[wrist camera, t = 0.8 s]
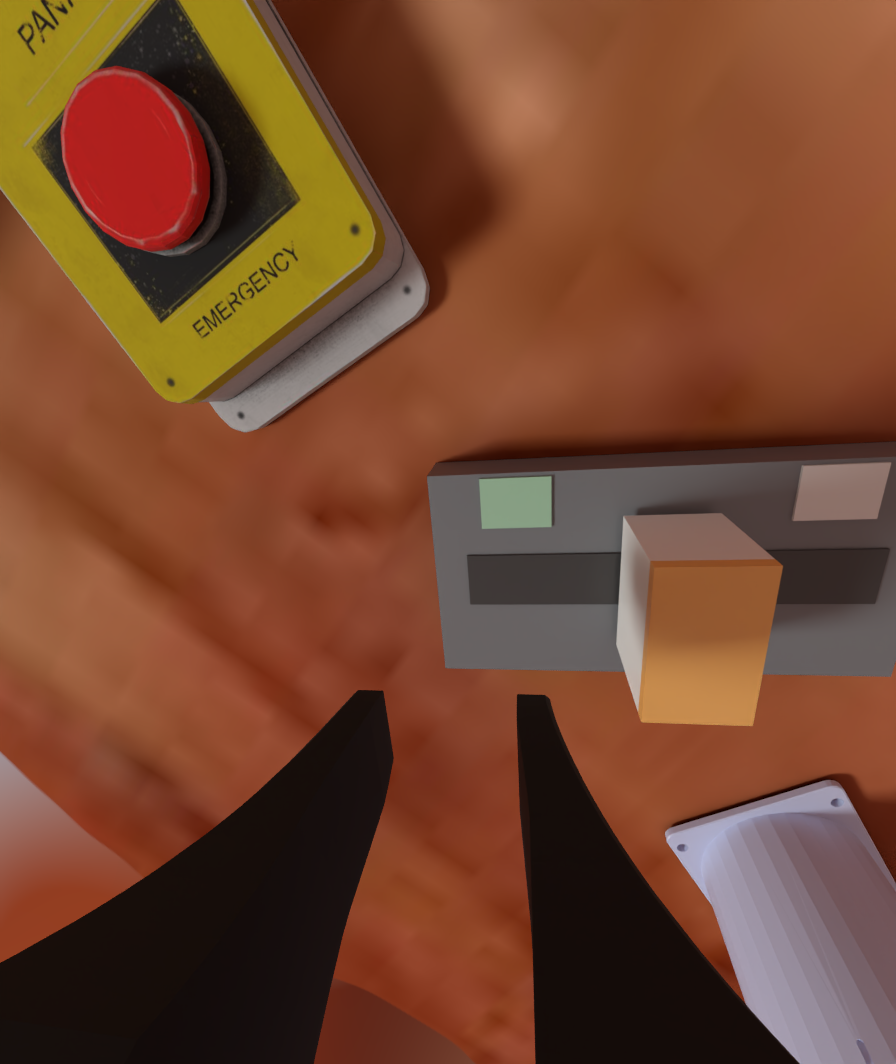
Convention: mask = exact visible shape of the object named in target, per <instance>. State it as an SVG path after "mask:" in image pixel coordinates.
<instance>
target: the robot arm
mask: <svg viewBox="0 0 896 1064" xmlns="http://www.w3.org/2000/svg"><path fill="white" fill-rule="evenodd" d="M517 738H518V768H519V797H520V817H521V827H522V838H523V848H524V858H525V869H526V879H527V889H528V900H529V910H530V920H531V932H532V948H533V978H534V1018H535V1059H536V1064H896V883H895V881H894V879H893V877H892V875H891V874H890V872H889V870H888V868H887V866H886V865H885V863H884V861H883V859H882V857H881V855H880V854H879V852H878V850H877V848H876V846H875V845H874V843H873V841H872V839H871V837H870V836H869V834H868V832H867V830H866V828H865V826H864V825H863V823H862V821H861V819H860V817H859V816H858V814H857V812H856V810H855V808H854V807H853V805H852V803H851V801H850V799H849V797H848V796H847V794H846V792H845V790H844V789H843V788H842V786H841V785H840V784H839V783H838V782H837V781H834V780H824V781H821V782H817V783H814V784H811V785H808V786H804V787H801V788H798V789H795V790H791V791H788V792H785V793H782V794H778V795H775V796H772V797H769V798H765V799H762V800H759V801H756V802H752V803H749V804H746V805H743V806H739V807H736V808H733V809H730V810H726V811H723V812H720V813H717V814H713V815H710V816H707V817H704V818H700V819H697V820H694V821H691V822H687V823H684V824H681V825H678V826H674V827H671V828H669V829H668V830H667V831H666V832H665V836H666V840H667V843H668V844H669V846H670V847H671V849H672V850H673V851H674V853H675V854H676V856H677V857H678V858H679V860H680V861H681V863H682V864H683V865H684V867H685V868H686V870H687V871H688V873H689V874H690V875H691V877H692V878H693V880H694V881H695V882H696V884H697V885H698V887H699V888H700V889H701V891H702V892H703V894H704V895H705V896H706V898H707V899H708V901H709V902H710V904H711V905H712V906H713V909H714V912H715V915H716V918H717V921H718V923H719V926H720V929H721V932H722V935H723V938H724V941H725V944H726V947H727V950H728V953H729V956H730V958H731V961H732V964H733V967H734V970H735V973H736V976H737V979H738V982H739V985H740V988H741V991H742V993H743V996H744V999H745V1002H746V1004H745V1003H744V1002H743V1001H742V1000H741V998H740V997H739V996H738V995H737V994H736V993H735V992H734V991H733V989H732V988H731V987H730V986H729V985H728V983H727V982H726V981H725V980H724V979H723V978H722V976H721V975H720V974H719V973H718V972H717V970H716V969H715V968H714V967H713V966H712V965H711V963H710V962H709V961H708V960H707V959H706V957H705V956H704V955H703V954H702V953H701V952H700V950H699V949H698V948H697V946H696V945H695V944H694V943H693V941H692V940H691V939H690V938H689V936H688V935H687V934H686V932H685V931H684V930H683V929H682V927H681V926H680V925H679V923H678V922H677V921H676V920H675V918H674V917H673V916H672V914H671V913H670V912H669V911H668V909H667V908H666V907H665V905H664V904H663V903H662V902H661V900H660V899H659V898H658V897H657V895H656V894H655V892H654V891H653V890H652V888H651V887H650V886H649V884H648V883H647V881H646V880H645V878H644V877H643V876H642V874H641V873H640V871H639V870H638V869H637V867H636V866H635V864H634V863H633V861H632V860H631V858H630V857H629V855H628V854H627V852H626V851H625V849H624V848H623V846H622V845H621V843H620V842H619V840H618V839H617V837H616V836H615V834H614V833H613V831H612V829H611V828H610V826H609V825H608V823H607V821H606V820H605V818H604V816H603V815H602V813H601V811H600V809H599V808H598V806H597V804H596V803H595V801H594V799H593V797H592V796H591V794H590V792H589V790H588V788H587V786H586V785H585V783H584V781H583V779H582V777H581V775H580V773H579V771H578V769H577V767H576V765H575V763H574V761H573V759H572V757H571V755H570V753H569V751H568V748H567V746H566V744H565V742H564V739H563V737H562V735H561V732H560V730H559V727H558V725H557V722H556V719H555V716H554V713H553V710H552V706H551V702H550V699H549V698H548V697H547V696H546V695H523V694H517ZM393 759H394V757H393V751H392V744H391V738H390V731H389V725H388V719H387V712H386V706H385V699H384V693H383V691H372V690H358V691H357V692H356V693H355V694H354V695H353V696H352V697H351V698H350V699H349V700H348V701H347V702H346V703H345V704H344V705H343V706H342V708H341V709H340V710H339V711H338V712H337V713H336V714H335V715H334V716H333V717H332V718H331V719H330V720H329V722H328V723H327V724H326V725H325V726H324V727H323V728H322V729H321V730H320V731H319V732H318V733H317V734H316V735H315V736H314V737H313V738H312V739H311V740H310V741H309V742H308V743H307V744H306V746H305V747H304V748H303V749H302V750H301V751H300V752H299V753H298V754H297V755H296V756H295V757H294V758H293V759H292V760H291V761H290V762H289V763H288V764H287V765H286V766H284V767H283V768H282V769H281V770H280V771H279V772H278V773H277V774H276V775H275V776H274V777H273V778H272V779H271V780H270V781H269V782H267V783H266V784H265V785H264V786H263V787H262V788H261V789H260V790H259V791H258V792H257V793H256V794H254V795H253V796H252V797H251V798H250V799H249V800H248V801H246V802H245V803H244V804H243V805H242V806H241V807H239V808H238V809H237V810H236V811H235V812H233V813H232V814H231V815H230V816H228V817H227V818H226V819H225V820H223V821H222V822H221V823H220V824H218V825H217V826H216V827H215V828H213V829H212V830H211V831H209V832H208V833H207V834H206V835H204V836H203V837H201V838H200V839H199V840H197V841H196V842H195V843H193V844H192V845H190V846H189V847H188V848H186V849H185V850H183V851H182V852H181V853H179V854H178V855H177V856H175V857H174V858H172V859H171V860H170V861H168V862H167V863H165V864H164V865H163V866H161V867H160V868H158V869H157V870H156V871H154V872H153V873H151V874H150V875H148V876H147V877H145V878H144V879H142V880H140V881H139V882H137V883H136V884H134V885H133V886H131V887H130V888H128V889H127V890H126V891H124V892H122V893H121V894H119V895H117V896H116V897H114V898H112V899H111V900H109V901H108V902H106V903H104V904H103V905H101V906H100V907H98V908H97V909H95V910H93V911H92V912H90V913H88V914H86V915H85V916H83V917H81V918H80V919H78V920H76V921H75V922H73V923H71V924H69V925H68V926H66V927H64V928H62V929H61V930H59V931H57V932H55V933H53V934H52V935H50V936H48V937H46V938H44V939H43V940H41V941H39V942H38V943H36V944H34V945H32V946H30V947H28V948H27V949H25V950H23V951H21V952H20V953H18V954H16V955H14V956H12V957H10V958H9V959H7V960H5V961H3V962H1V963H0V1064H314V1059H315V1054H316V1050H317V1045H318V1041H319V1036H320V1032H321V1028H322V1023H323V1018H324V1014H325V1009H326V1005H327V1000H328V995H329V991H330V987H331V983H332V979H333V974H334V970H335V966H336V962H337V957H338V953H339V949H340V945H341V940H342V936H343V932H344V929H345V926H346V922H347V919H348V915H349V912H350V908H351V905H352V902H353V899H354V896H355V893H356V890H357V887H358V884H359V881H360V878H361V874H362V871H363V868H364V865H365V862H366V859H367V856H368V853H369V850H370V847H371V844H372V841H373V838H374V835H375V831H376V828H377V825H378V822H379V819H380V816H381V813H382V809H383V806H384V803H385V798H386V794H387V789H388V784H389V779H390V774H391V769H392V764H393Z"/></svg>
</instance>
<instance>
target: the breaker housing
mask: <svg viewBox="0 0 896 1064" xmlns="http://www.w3.org/2000/svg"><path fill="white" fill-rule="evenodd" d="M427 481H428V491H429V501H430V512H431V522H432V533H433V543H434V553H435V564H436V574H437V584H438V595H439V605H440V615H441V626H442V636H443V647H444V657H445V667H446V668H460V669H513V670H566V671H619V672H625V670H624V667H623V664H622V661H621V658H620V654H619V651H618V648H617V645H616V640H617V623H618V605H619V587H620V569H621V551H622V533H623V516H634V515H670V514H706V513H722V514H723V515H724V516H726V517H727V518H728V519H729V520H730V521H731V522H733V523H734V524H735V525H736V526H737V527H738V528H740V529H741V530H742V531H743V532H744V533H745V534H746V535H748V536H749V537H750V538H751V539H752V540H753V541H755V542H756V543H757V544H758V545H759V546H760V547H762V548H763V549H764V550H765V551H766V552H767V553H769V554H770V555H771V556H772V557H773V558H774V559H776V560H777V561H778V562H779V563H780V564H781V565H783V569H782V575H781V580H780V585H779V590H778V596H777V601H776V606H775V611H774V617H773V622H772V627H771V632H770V638H769V643H768V648H767V653H766V659H765V664H764V669H763V674H779V675H832V676H885V677H891V674H892V671H893V668H894V665H895V661H896V441H893V442H872V443H850V444H828V445H807V446H785V447H764V448H742V449H721V450H699V451H678V452H656V453H635V454H613V455H591V456H570V457H548V458H527V459H505V460H484V461H462V462H441V463H436V464H435V465H434V467H433V468H432V470H431V471H430V473H429V474H428V476H427Z"/></svg>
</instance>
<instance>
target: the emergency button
mask: <svg viewBox="0 0 896 1064" xmlns="http://www.w3.org/2000/svg"><path fill="white" fill-rule="evenodd" d="M0 189H1V191H2V192H3V193H4V195H5V196H6V197H7V199H8V200H9V201H10V202H11V204H12V205H13V206H14V208H15V209H16V210H17V212H18V213H19V214H20V215H21V217H22V218H23V219H24V221H25V222H26V223H27V225H28V226H29V227H30V228H31V230H32V231H33V232H34V234H35V235H36V236H37V238H38V239H39V240H40V241H41V243H42V244H43V245H44V247H45V248H46V249H47V251H48V252H49V253H50V254H51V256H52V257H53V258H54V260H55V261H56V262H57V264H58V265H59V266H60V267H61V269H62V270H63V271H64V273H65V274H66V275H67V277H68V278H69V279H70V280H71V282H72V283H73V284H74V286H75V287H76V288H77V290H78V291H79V292H80V293H81V295H82V296H83V297H84V299H85V300H86V301H87V303H88V304H89V305H90V306H91V308H92V309H93V310H94V312H95V313H96V314H97V316H98V317H99V318H100V319H101V321H102V322H103V323H104V325H105V326H106V327H107V329H108V330H109V331H110V332H111V334H112V335H113V336H114V338H115V339H116V340H117V342H118V343H119V344H120V345H121V347H122V348H123V349H124V351H125V352H126V353H127V355H128V356H129V357H130V358H131V360H132V361H133V362H134V364H135V365H136V366H137V368H138V369H139V370H140V371H141V373H142V374H143V375H144V377H145V378H146V379H147V381H148V382H149V383H150V384H151V386H152V387H153V388H154V390H155V391H156V392H157V393H159V394H160V395H161V396H162V397H163V398H165V399H166V400H168V401H172V402H177V403H187V404H194V403H197V402H209V403H210V404H211V406H212V407H213V408H214V410H215V411H216V412H217V414H218V415H219V416H220V417H221V418H222V419H223V420H224V421H225V422H226V423H227V424H228V425H229V426H230V427H231V428H233V429H236V430H239V431H242V432H249V431H252V430H256V429H260V428H263V427H265V426H267V425H268V424H269V423H271V422H272V421H274V420H275V419H276V418H278V417H279V416H281V415H282V414H284V413H285V412H286V411H288V410H289V409H291V408H292V407H293V406H295V405H296V404H298V403H299V402H300V401H302V400H303V399H305V398H306V397H307V396H309V395H310V394H312V393H313V392H314V391H316V390H317V389H319V388H320V387H321V386H323V385H324V384H326V383H327V382H328V381H330V380H331V379H333V378H334V377H335V376H337V375H338V374H340V373H341V372H342V371H344V370H345V369H347V368H348V367H349V366H351V365H352V364H354V363H355V362H357V361H358V360H359V359H361V358H362V357H364V356H365V355H366V354H368V353H369V352H371V351H372V350H373V349H375V348H376V347H378V346H379V345H380V344H382V343H383V342H385V341H386V340H387V339H389V338H390V337H392V336H393V335H394V334H396V333H397V332H399V331H400V330H401V329H403V328H404V327H406V326H407V325H408V324H410V323H411V322H413V321H414V320H415V319H417V318H418V317H419V316H420V315H421V314H422V312H423V311H424V310H425V308H426V307H427V306H428V301H429V292H430V286H429V283H428V280H427V277H426V273H425V270H424V268H423V267H422V265H421V263H420V261H419V260H418V258H417V256H416V254H415V253H414V251H413V249H412V247H411V245H410V244H409V242H408V240H407V238H406V237H405V235H404V233H403V231H402V230H401V228H400V226H399V224H398V223H397V221H396V219H395V217H394V216H393V214H392V212H391V210H390V209H389V207H388V205H387V203H386V202H385V200H384V198H383V196H382V194H381V193H380V191H379V189H378V187H377V186H376V184H375V182H374V180H373V179H372V177H371V175H370V173H369V172H368V170H367V168H366V166H365V165H364V163H363V161H362V159H361V158H360V156H359V154H358V152H357V151H356V149H355V147H354V145H353V143H352V142H351V140H350V138H349V136H348V135H347V133H346V131H345V129H344V128H343V126H342V124H341V122H340V121H339V119H338V117H337V115H336V114H335V112H334V110H333V108H332V107H331V105H330V103H329V101H328V100H327V98H326V96H325V94H324V92H323V91H322V89H321V87H320V85H319V84H318V82H317V80H316V78H315V77H314V75H313V73H312V71H311V70H310V68H309V66H308V64H307V63H306V61H305V59H304V57H303V56H302V54H301V52H300V50H299V49H298V47H297V45H296V43H295V42H294V40H293V38H292V36H291V34H290V33H289V31H288V29H287V27H286V26H285V24H284V22H283V20H282V19H281V17H280V15H279V13H278V12H277V10H276V8H275V6H274V5H273V3H272V1H271V0H0Z"/></svg>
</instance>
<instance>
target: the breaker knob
mask: <svg viewBox="0 0 896 1064" xmlns="http://www.w3.org/2000/svg"><path fill="white" fill-rule="evenodd" d="M782 569H783V565H781V564H780V563H779V562H778V561H777V560H776V559H774V558H773V557H772V556H771V555H770V554H769V553H767V552H766V551H765V550H764V549H763V548H762V547H760V546H759V545H758V544H757V543H756V542H755V541H753V540H752V539H751V538H750V537H749V536H748V535H746V534H745V533H744V532H743V531H742V530H741V529H740V528H738V527H737V526H736V525H735V524H734V523H733V522H731V521H730V520H729V519H728V518H727V517H726V516H724V515H723V514H722V513H706V514H670V515H634V516H623V533H622V551H621V569H620V587H619V605H618V623H617V640H616V645H617V648H618V651H619V654H620V658H621V661H622V664H623V667H624V670H625V673H626V676H627V679H628V682H629V686H630V689H631V692H632V695H633V698H634V701H635V704H636V707H637V710H638V714H639V717H640V720H641V722H648V723H677V724H707V725H736V726H753V722H754V717H755V711H756V706H757V701H758V696H759V690H760V685H761V680H762V675H763V669H764V664H765V659H766V653H767V648H768V643H769V638H770V632H771V627H772V622H773V617H774V611H775V606H776V601H777V596H778V590H779V585H780V580H781V575H782Z"/></svg>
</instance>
